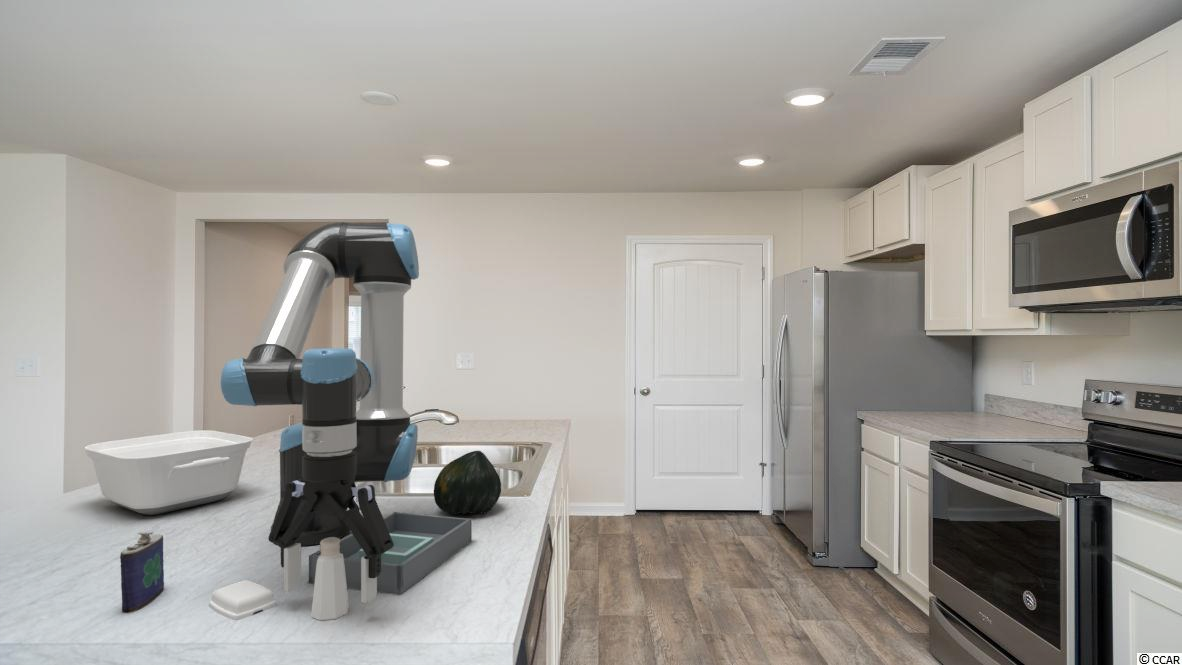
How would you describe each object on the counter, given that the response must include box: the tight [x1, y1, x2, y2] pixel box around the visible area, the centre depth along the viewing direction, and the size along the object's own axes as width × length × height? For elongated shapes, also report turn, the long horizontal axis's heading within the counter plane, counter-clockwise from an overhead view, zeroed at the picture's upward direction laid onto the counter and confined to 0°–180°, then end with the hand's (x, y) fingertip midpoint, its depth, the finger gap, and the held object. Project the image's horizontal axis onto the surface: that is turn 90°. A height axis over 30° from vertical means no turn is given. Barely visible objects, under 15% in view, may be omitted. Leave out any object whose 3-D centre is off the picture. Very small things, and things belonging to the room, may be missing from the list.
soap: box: [208, 579, 277, 621], centre depth 96 cm, size 9×7×3 cm
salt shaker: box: [310, 537, 350, 622], centre depth 94 cm, size 5×5×11 cm
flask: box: [119, 531, 165, 614], centre depth 98 cm, size 9×3×11 cm, turn 8°
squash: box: [433, 450, 502, 515], centre depth 144 cm, size 14×15×15 cm
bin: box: [308, 511, 473, 595], centre depth 115 cm, size 17×25×4 cm
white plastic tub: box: [84, 429, 254, 516], centre depth 151 cm, size 34×29×15 cm
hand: (330, 593), depth 94 cm, fingers open, 13 cm apart
